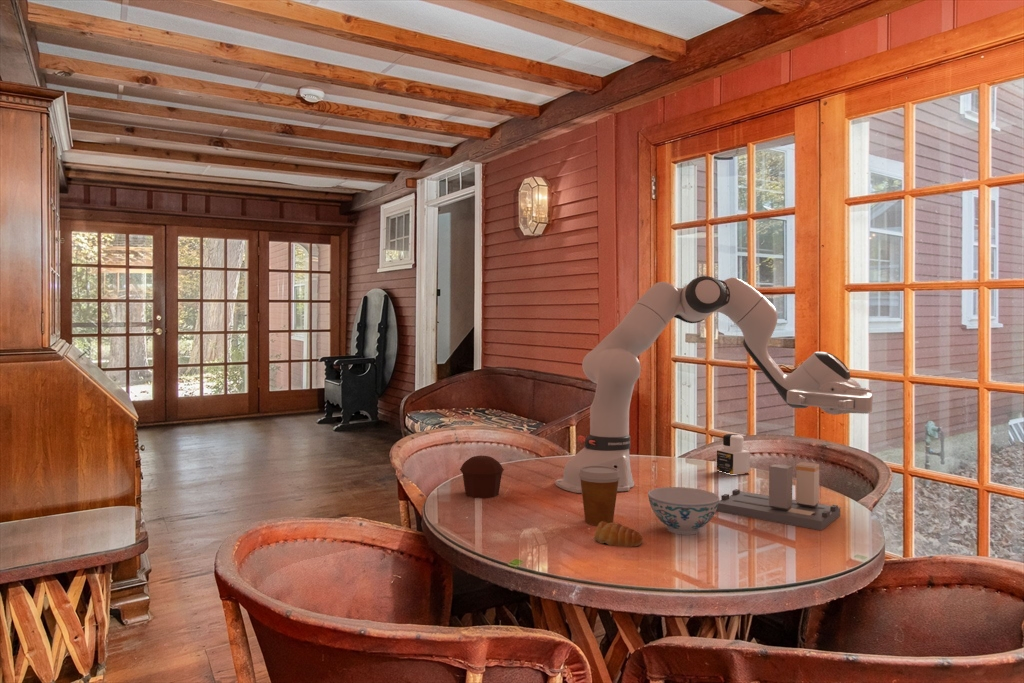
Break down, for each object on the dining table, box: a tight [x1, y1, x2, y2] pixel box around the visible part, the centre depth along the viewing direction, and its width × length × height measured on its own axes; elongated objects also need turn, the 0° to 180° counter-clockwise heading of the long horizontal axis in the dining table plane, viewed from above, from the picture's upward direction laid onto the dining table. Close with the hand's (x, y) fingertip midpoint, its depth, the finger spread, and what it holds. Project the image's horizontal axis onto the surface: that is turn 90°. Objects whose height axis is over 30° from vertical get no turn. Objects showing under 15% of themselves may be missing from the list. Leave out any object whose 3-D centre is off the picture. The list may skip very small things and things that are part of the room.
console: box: [716, 488, 841, 531], centre depth 155 cm, size 24×16×3 cm, turn 50°
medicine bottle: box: [716, 433, 751, 474], centre depth 201 cm, size 7×7×12 cm
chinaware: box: [647, 486, 720, 536], centre depth 140 cm, size 15×15×8 cm
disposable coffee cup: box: [578, 466, 621, 527], centre depth 146 cm, size 10×10×12 cm
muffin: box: [459, 455, 505, 499], centre depth 171 cm, size 12×11×10 cm
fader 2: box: [795, 461, 820, 508], centre depth 153 cm, size 4×4×10 cm
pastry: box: [594, 521, 643, 548], centre depth 132 cm, size 9×7×4 cm
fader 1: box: [768, 463, 793, 510], centre depth 150 cm, size 4×4×10 cm
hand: (821, 402), depth 162 cm, fingers open, 8 cm apart
